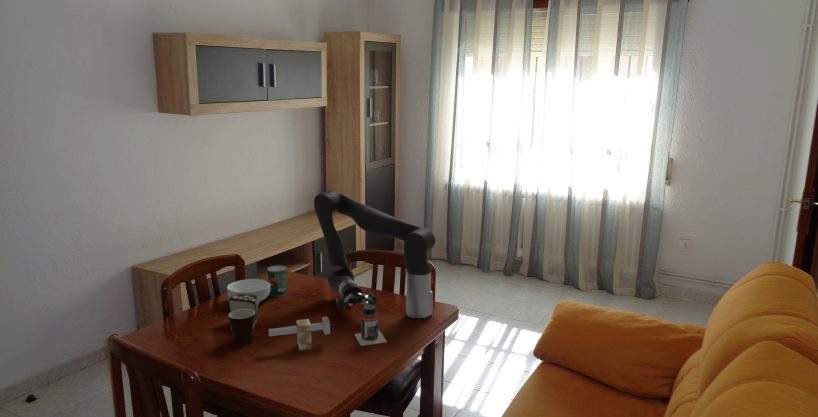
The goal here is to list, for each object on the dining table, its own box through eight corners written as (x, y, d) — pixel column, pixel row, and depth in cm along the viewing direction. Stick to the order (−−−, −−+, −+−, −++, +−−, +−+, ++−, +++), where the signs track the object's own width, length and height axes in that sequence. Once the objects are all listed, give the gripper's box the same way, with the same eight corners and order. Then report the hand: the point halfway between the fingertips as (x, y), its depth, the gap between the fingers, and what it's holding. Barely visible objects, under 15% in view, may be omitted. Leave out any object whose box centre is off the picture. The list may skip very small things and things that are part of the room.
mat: (379, 331, 212) (379, 330, 212) (386, 342, 204) (386, 341, 204) (354, 335, 209) (354, 334, 209) (361, 345, 201) (360, 344, 201)
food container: (267, 320, 222) (265, 294, 220) (257, 326, 216) (256, 300, 214) (238, 315, 226) (237, 290, 224) (228, 321, 220) (227, 296, 218)
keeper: (309, 342, 203) (308, 318, 201) (311, 348, 198) (310, 324, 197) (297, 344, 202) (296, 320, 200) (299, 350, 197) (298, 326, 195)
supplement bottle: (361, 334, 209) (360, 303, 207) (378, 333, 210) (377, 303, 207) (361, 341, 203) (360, 310, 201) (378, 340, 204) (378, 309, 201)
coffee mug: (249, 347, 199) (247, 319, 197) (225, 345, 201) (223, 317, 199) (264, 333, 210) (263, 306, 208) (241, 331, 212) (240, 304, 210)
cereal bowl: (279, 299, 242) (279, 283, 241) (248, 312, 229) (247, 295, 227) (250, 291, 251) (249, 275, 250) (218, 303, 238) (217, 287, 236)
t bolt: (327, 328, 204) (327, 316, 203) (330, 333, 200) (329, 321, 199) (268, 336, 198) (267, 323, 197) (269, 341, 194) (269, 329, 193)
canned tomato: (264, 295, 247) (263, 269, 245) (275, 289, 254) (274, 264, 252) (280, 297, 244) (279, 272, 242) (291, 291, 251) (290, 266, 249)
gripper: (331, 284, 225) (341, 299, 210) (368, 280, 229) (380, 294, 214) (332, 303, 226) (341, 319, 211) (368, 299, 231) (380, 314, 216)
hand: (360, 306), depth 213 cm, fingers open, 8 cm apart
